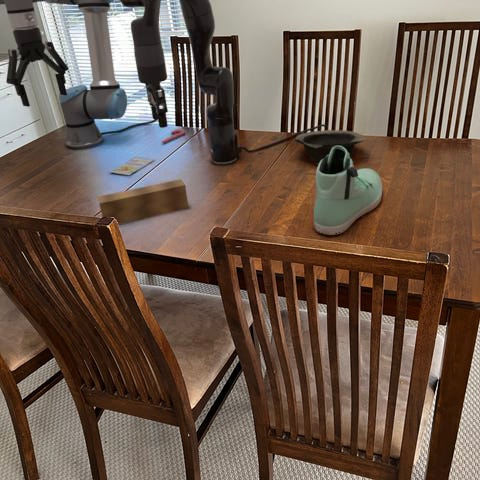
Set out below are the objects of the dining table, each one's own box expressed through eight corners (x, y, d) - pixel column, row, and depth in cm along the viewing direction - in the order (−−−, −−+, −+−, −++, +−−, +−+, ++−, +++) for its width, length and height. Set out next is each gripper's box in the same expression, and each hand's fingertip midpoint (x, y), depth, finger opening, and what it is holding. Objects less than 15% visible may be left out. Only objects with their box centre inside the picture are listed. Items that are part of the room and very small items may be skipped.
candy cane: (153, 142, 199) (153, 139, 199) (177, 131, 210) (176, 127, 209) (164, 144, 196) (163, 141, 196) (187, 133, 206) (187, 129, 206)
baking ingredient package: (109, 171, 174) (134, 157, 185) (109, 172, 174) (134, 158, 185) (129, 174, 170) (153, 159, 182) (129, 175, 170) (153, 160, 182)
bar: (105, 227, 140) (99, 203, 135) (103, 220, 143) (97, 196, 139) (188, 208, 146) (185, 184, 142) (184, 201, 150) (181, 179, 146)
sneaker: (389, 187, 148) (396, 123, 138) (356, 242, 123) (361, 168, 112) (346, 181, 154) (350, 119, 144) (306, 232, 129) (307, 161, 118)
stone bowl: (322, 174, 159) (321, 147, 155) (282, 157, 179) (280, 133, 175) (380, 156, 168) (380, 130, 163) (336, 142, 188) (335, 118, 184)
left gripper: (-8, 35, 131) (16, 112, 142) (68, 21, 147) (85, 91, 159) (-22, 34, 135) (3, 109, 146) (54, 21, 152) (71, 89, 163)
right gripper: (170, 64, 120) (179, 127, 128) (158, 55, 132) (167, 114, 140) (141, 69, 118) (152, 132, 126) (131, 59, 130) (142, 118, 138)
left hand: (45, 100), depth 152 cm, fingers open, 13 cm apart
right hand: (160, 122), depth 133 cm, fingers open, 8 cm apart
